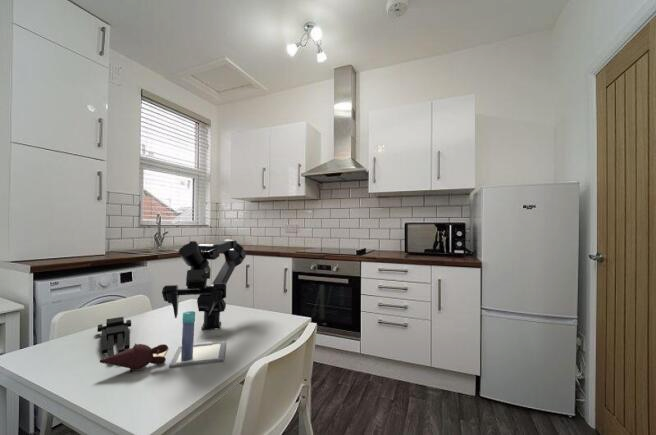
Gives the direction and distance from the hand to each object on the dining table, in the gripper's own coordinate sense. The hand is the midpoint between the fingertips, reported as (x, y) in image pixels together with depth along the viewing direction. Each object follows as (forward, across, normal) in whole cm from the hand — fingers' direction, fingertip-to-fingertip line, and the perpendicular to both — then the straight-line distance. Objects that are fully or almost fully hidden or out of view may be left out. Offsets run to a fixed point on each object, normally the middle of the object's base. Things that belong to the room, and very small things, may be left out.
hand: (192, 316), depth 83 cm
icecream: (+13, -13, +4) cm, 18 cm away
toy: (-1, -24, +17) cm, 30 cm away
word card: (+6, -9, +10) cm, 15 cm away
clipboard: (+9, +3, +7) cm, 12 cm away
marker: (+11, 0, +4) cm, 12 cm away
